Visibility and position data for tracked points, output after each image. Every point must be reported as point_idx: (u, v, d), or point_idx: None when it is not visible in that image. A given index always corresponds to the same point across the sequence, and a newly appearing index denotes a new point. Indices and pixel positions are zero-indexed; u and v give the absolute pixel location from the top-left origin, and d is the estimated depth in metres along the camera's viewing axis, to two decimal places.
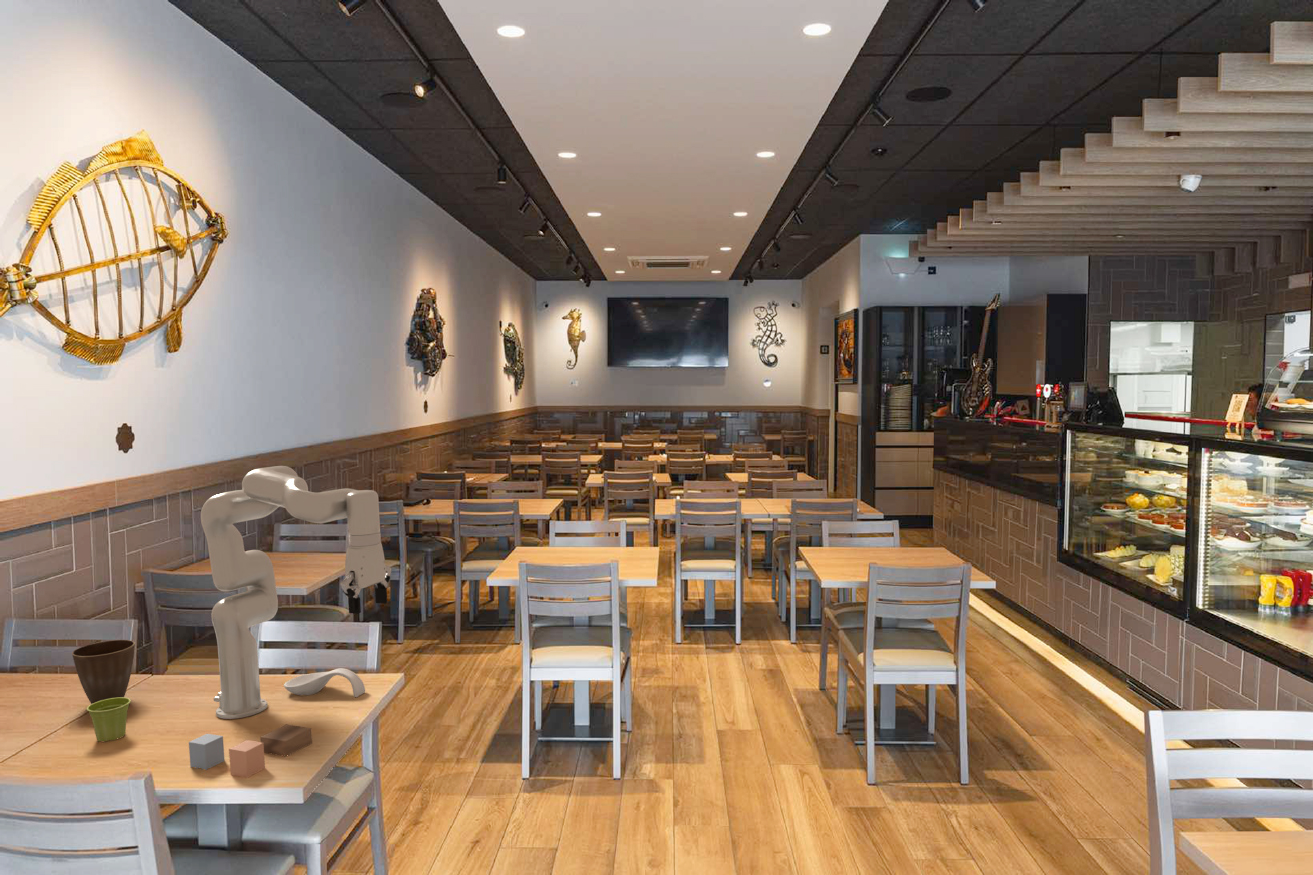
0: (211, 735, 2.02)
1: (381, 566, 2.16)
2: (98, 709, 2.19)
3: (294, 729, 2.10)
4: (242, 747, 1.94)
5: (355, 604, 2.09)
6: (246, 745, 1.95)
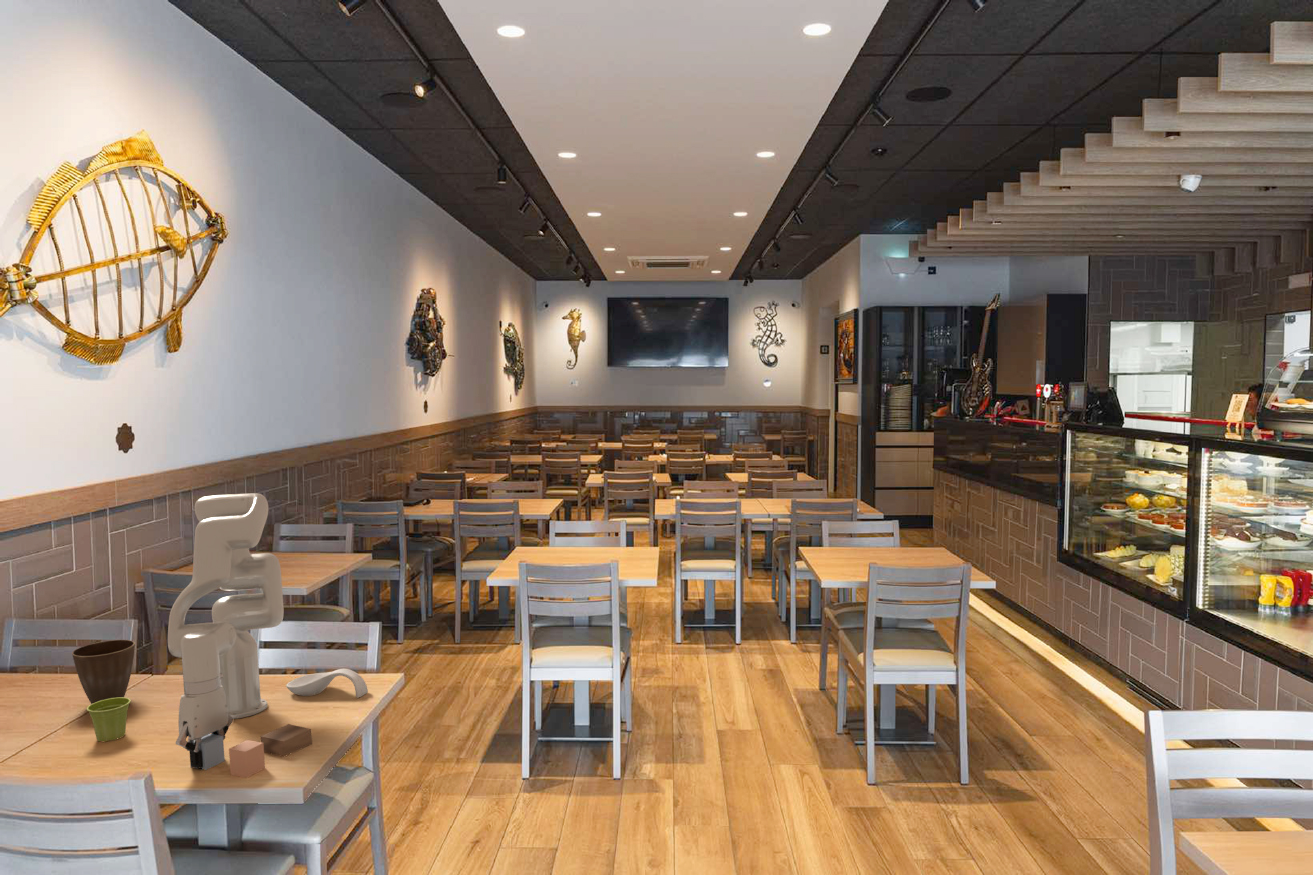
0: (211, 735, 2.02)
1: (222, 711, 2.01)
2: (98, 709, 2.19)
3: (294, 729, 2.10)
4: (242, 747, 1.94)
5: (196, 758, 1.97)
6: (246, 745, 1.95)
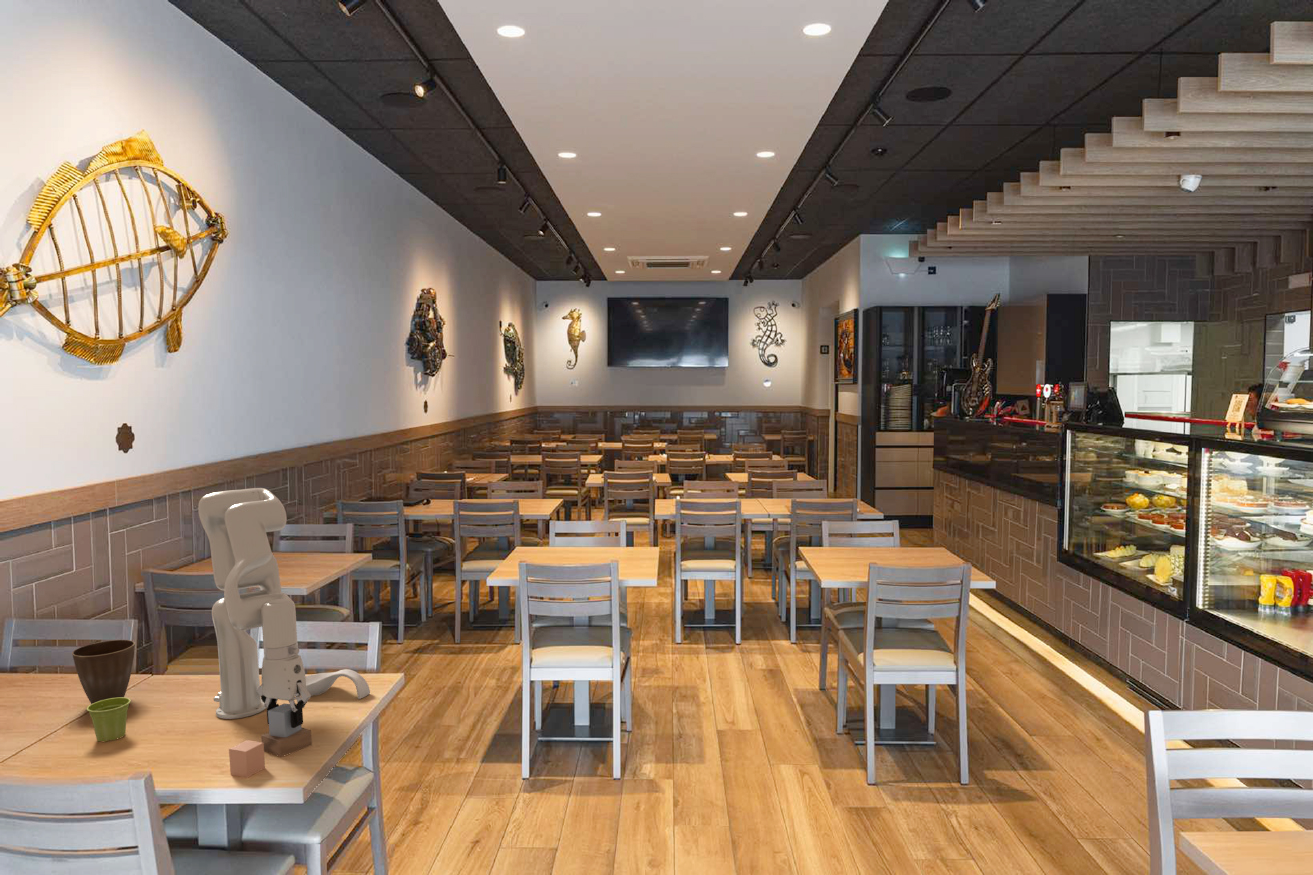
0: None
1: (284, 684, 2.04)
2: (98, 709, 2.19)
3: None
4: (242, 747, 1.94)
5: None
6: (246, 745, 1.95)
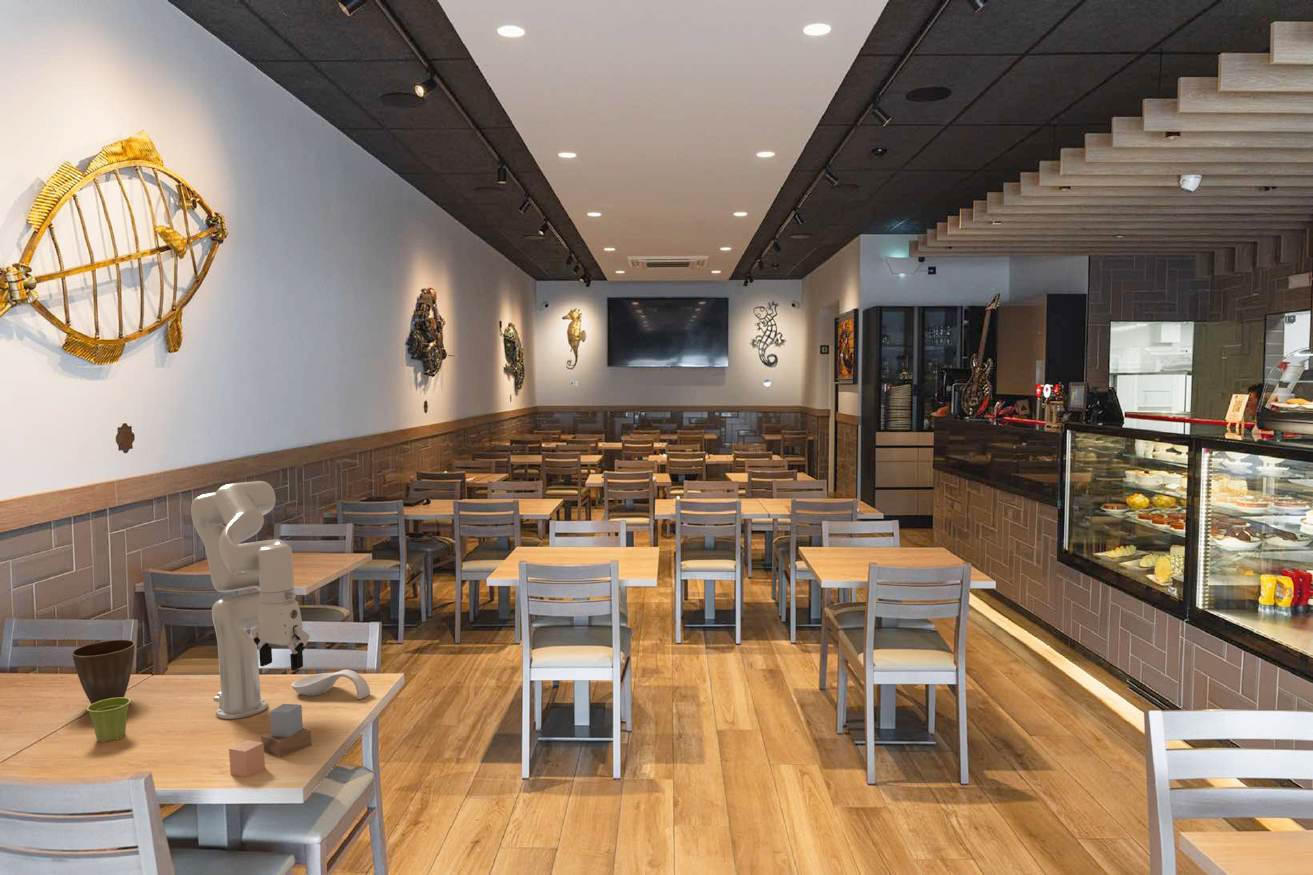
0: (294, 707, 2.08)
1: (280, 629, 2.03)
2: (98, 709, 2.19)
3: None
4: (242, 747, 1.94)
5: None
6: (246, 745, 1.95)
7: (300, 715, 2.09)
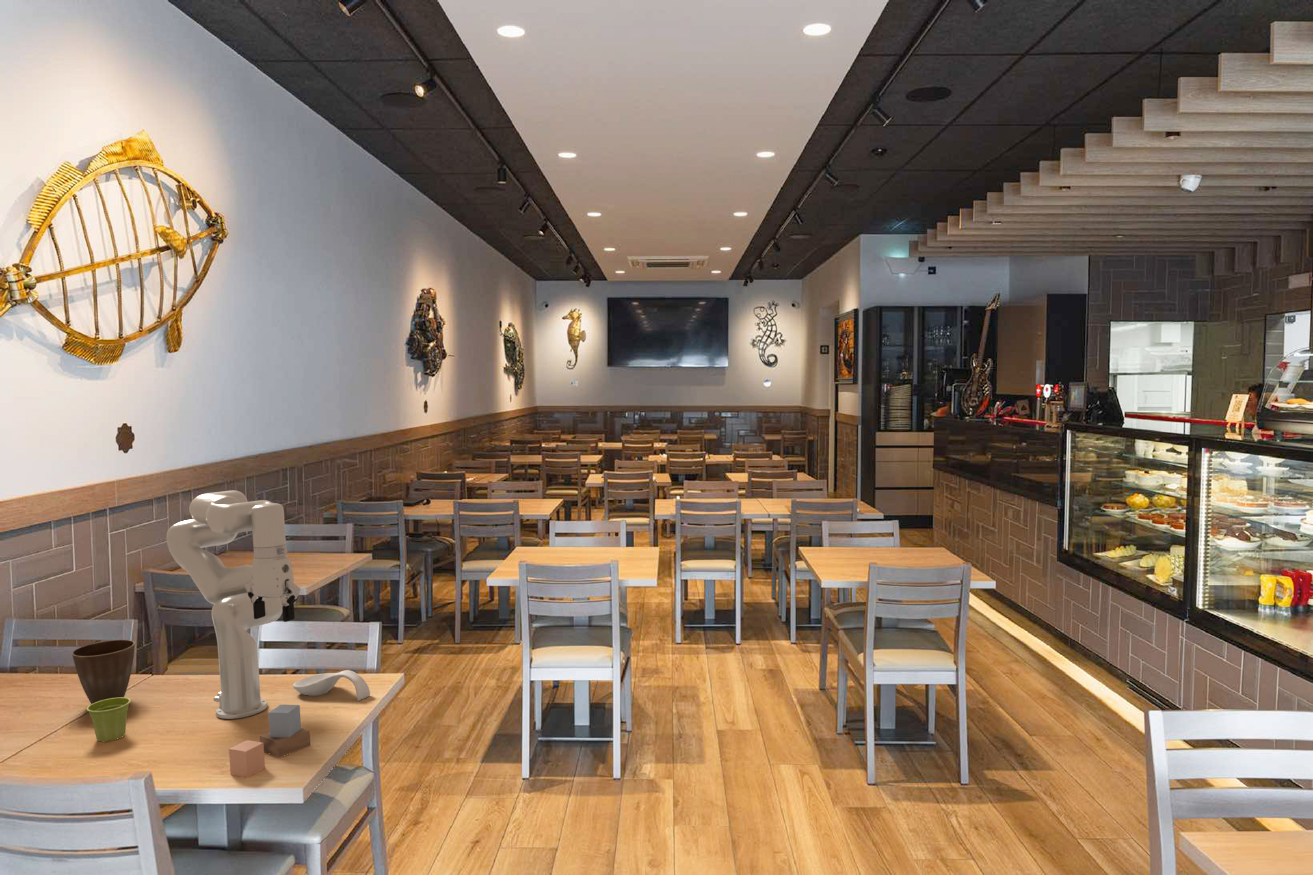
0: (293, 708, 2.08)
1: (273, 582, 2.15)
2: (98, 709, 2.19)
3: None
4: (242, 747, 1.94)
5: None
6: (246, 745, 1.95)
7: (298, 715, 2.09)
